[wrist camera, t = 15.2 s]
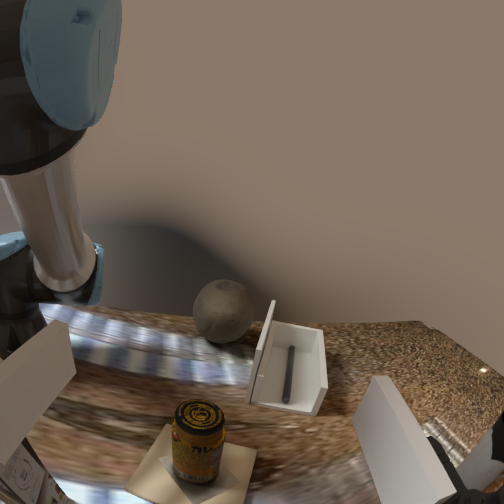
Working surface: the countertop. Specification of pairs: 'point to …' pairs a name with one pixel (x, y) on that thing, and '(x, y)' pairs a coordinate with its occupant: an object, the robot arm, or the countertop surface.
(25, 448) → the coffee box
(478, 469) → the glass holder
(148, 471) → the pad
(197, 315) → the kiwi fruit
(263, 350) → the white tray with rod
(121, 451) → the countertop surface
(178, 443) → the condiment
